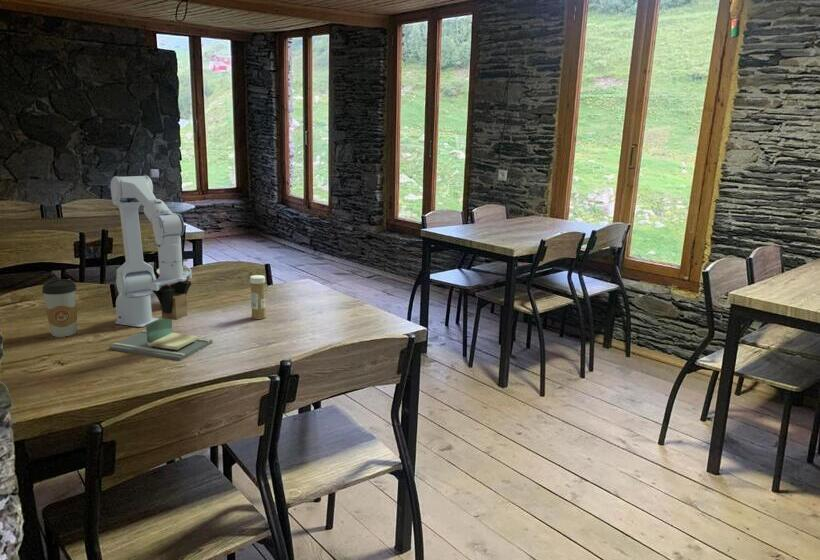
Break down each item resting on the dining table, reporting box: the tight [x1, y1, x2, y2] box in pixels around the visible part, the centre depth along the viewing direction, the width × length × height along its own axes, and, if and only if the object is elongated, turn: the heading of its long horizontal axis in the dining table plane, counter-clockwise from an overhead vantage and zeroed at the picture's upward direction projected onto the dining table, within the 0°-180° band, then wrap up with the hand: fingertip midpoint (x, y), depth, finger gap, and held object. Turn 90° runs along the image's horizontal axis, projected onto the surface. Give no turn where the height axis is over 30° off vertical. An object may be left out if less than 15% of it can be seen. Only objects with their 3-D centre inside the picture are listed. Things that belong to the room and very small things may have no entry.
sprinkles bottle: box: [249, 274, 267, 320], centre depth 190 cm, size 5×5×14 cm
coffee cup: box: [41, 278, 78, 338], centre depth 170 cm, size 8×8×15 cm
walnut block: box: [160, 293, 188, 321], centre depth 162 cm, size 4×4×6 cm
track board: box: [109, 330, 213, 361], centre depth 165 cm, size 22×14×1 cm, turn 74°
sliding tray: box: [145, 317, 199, 351], centre depth 163 cm, size 9×9×6 cm
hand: (173, 310), depth 162 cm, fingers closed on walnut block, 4 cm apart
